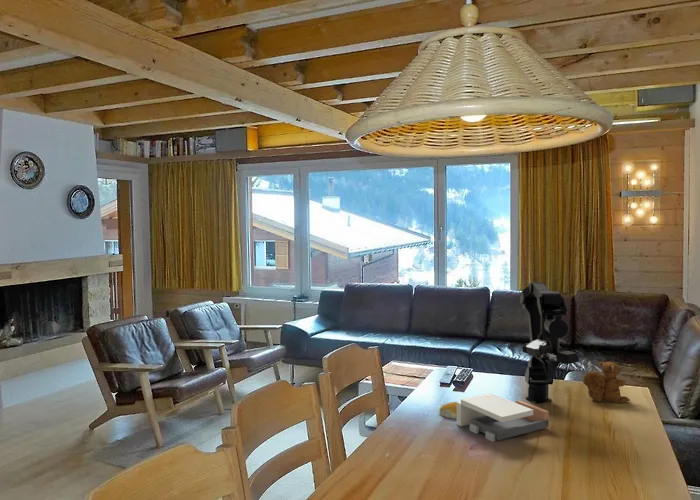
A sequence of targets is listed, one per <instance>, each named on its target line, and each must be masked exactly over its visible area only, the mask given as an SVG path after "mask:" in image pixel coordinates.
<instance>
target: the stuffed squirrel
mask: <svg viewBox="0 0 700 500" xmlns="http://www.w3.org/2000/svg"><path fill="white" fill-rule="evenodd" d="M599 366H600V367H601V369H602V374H601V373H600V372H598V371H593V372H592V371H590V372H586V373H585V374H584V375H582V376H581V377H582V378H583V379H582V382H583V385H585V386H586V387H587V390H588V392H587V393H588V396H589V397H590V398H591V399H592V400H593V399H594V401H595V402H598V401H599V402H598V403H601V402H600V401H602V402H607V401H610V402H609V403H613V402H628V401H629V402H631V401H630V400H631V399H630V398H629V397H627V396H623V395H622V396H621V390H620V387H621V388H622V387H624V386H625V385H626V380H625V379H623V378H621V379H620V378H619V379H618V378H617V376H618V375H619V374H620V373H621V375H624V372H623V371H622V369H621V368H620V366H619V365H618V364H617V363H615V362H614V361H613V362H612V361H606V362H603V361H599Z"/></svg>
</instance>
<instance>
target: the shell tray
mask: <svg viewBox="0 0 700 500" xmlns="http://www.w3.org/2000/svg"><path fill="white" fill-rule="evenodd" d="M515 403H517V404H520V405H522V406H525V407H527V408H530V409H533V415H531V416H526V417H522V418H518V419H514V420H510V421H506V422H500V421H498V420H496V419H494V418H491V417H489V416H483V417H479V418H474V419H471V424H474V425H477V426H479V433H483V434H484V435H485V432H486V431H489V432H491V433H493V434H495V440H497V441H501V440H505V439H509V438H513V437H516V436H520V435H524V434H528V433H532V432H536V431H539V430H544V429H548V428H549V412H550V411H548V410H546V409H544V408H542V407H541V408H540V407H539V406H535V405H533V404H531V403H529V402H525V401H522V400H520V399H519V400H516V401H515Z"/></svg>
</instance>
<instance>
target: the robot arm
mask: <svg viewBox="0 0 700 500" xmlns="http://www.w3.org/2000/svg"><path fill="white" fill-rule="evenodd" d="M519 300H520V305H522V306H521V307H522V311H523V312H524V314H525V315H526V317H527V318H528V328H529V329H528V331H529V340H530V341H529V342H527V343H524V344H523V346H522V353H524V354H528V356H530V358H529V361H528V363H527V367H526V370H525V374H524V381H525V383H526V384H527V385H528V388H527V389H528V391H527V392H528V393H527V394H528V395H527V396H526V397H525V400H528V401H531V402H533V403H536V404H543V403H548V402H552V401H553V400H552V398H550V397H549V385H551V386H552V385H553V383H554V377H555V374H556V371H557V369H558V367H559V366H560V364H562V365H569V364H574V363H579V362H580V355H579V354H578V353H577V352H576V351H575V352H574V351H570V350H565V351H562V350H563V346H560V339H562V338H564V337H565V336H566V335H567V333H568V331H569V327H568V324H567V322H566V321H564V320H563V319H562V317H563V316H565V317H566V316H567V313H568V308H567V304H566V300H565V299H564V296H563V295H562V294H561V293H560V292H558V291H552V290H551V289H550V288H548V287H547V285H546V283H545V282H542V281H531V282H529V283H528V286H526V287H525V288H524V289H522V291H521V293H520V297H519Z"/></svg>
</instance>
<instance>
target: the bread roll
mask: <svg viewBox="0 0 700 500" xmlns="http://www.w3.org/2000/svg"><path fill="white" fill-rule="evenodd" d="M457 402H458V401H453V402H448V403H446V404H443V405H441V407H440V408H439V414H440V416H442V417H444V418H448V419H457Z"/></svg>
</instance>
